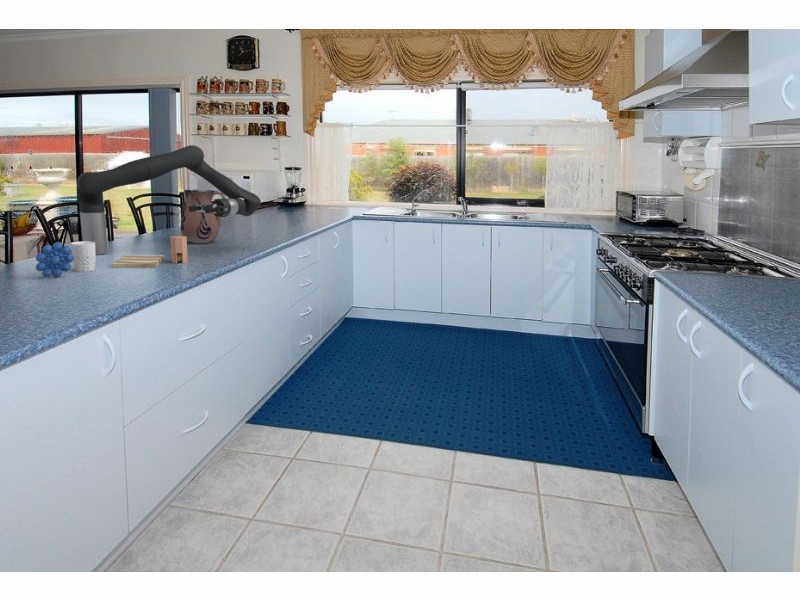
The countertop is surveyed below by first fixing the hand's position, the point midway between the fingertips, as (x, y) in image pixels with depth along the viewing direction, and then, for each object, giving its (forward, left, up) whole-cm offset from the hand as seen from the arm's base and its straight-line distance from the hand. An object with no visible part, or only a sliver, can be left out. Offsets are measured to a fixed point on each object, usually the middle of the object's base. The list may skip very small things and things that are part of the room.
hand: (197, 209), depth 254 cm
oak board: (+12, -21, -20) cm, 31 cm away
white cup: (+27, -37, -20) cm, 50 cm away
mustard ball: (+9, -7, -18) cm, 21 cm away
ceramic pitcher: (-46, -3, -20) cm, 51 cm away
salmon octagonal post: (+9, -7, -20) cm, 23 cm away
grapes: (+39, -43, -20) cm, 61 cm away
